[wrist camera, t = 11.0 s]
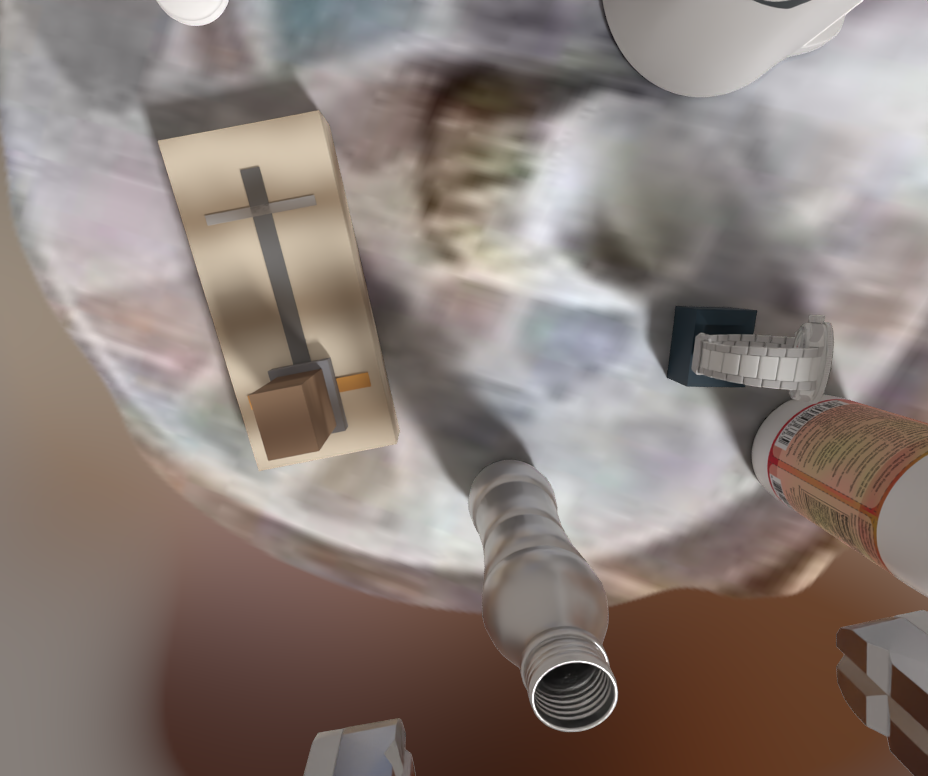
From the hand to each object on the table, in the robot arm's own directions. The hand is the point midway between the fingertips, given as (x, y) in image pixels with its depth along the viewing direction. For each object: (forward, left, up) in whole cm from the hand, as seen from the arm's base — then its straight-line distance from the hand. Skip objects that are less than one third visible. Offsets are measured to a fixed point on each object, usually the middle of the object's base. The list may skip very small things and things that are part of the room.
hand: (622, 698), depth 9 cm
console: (-1, -14, -29) cm, 33 cm away
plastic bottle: (+8, +5, -29) cm, 31 cm away
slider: (+5, -11, -26) cm, 28 cm away
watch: (-8, +15, -29) cm, 34 cm away
